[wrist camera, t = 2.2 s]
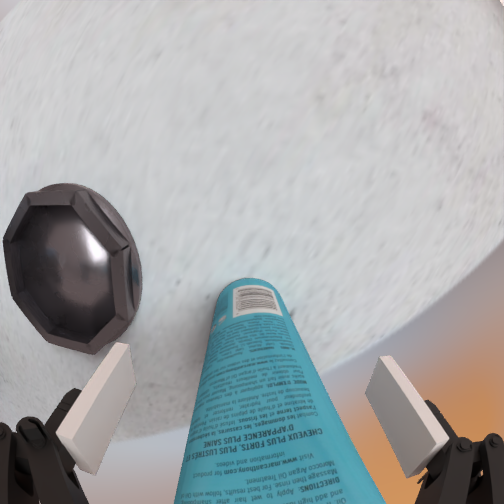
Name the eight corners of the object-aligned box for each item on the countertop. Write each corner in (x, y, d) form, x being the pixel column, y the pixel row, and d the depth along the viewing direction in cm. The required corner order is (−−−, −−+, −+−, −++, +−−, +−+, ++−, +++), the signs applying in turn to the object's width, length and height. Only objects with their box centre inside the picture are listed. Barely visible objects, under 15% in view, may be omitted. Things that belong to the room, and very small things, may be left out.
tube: (222, 349, 21) (204, 601, 2) (191, 300, 20) (101, 583, 1) (308, 311, 20) (420, 566, 2) (283, 257, 19) (432, 573, 1)
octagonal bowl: (31, 326, 20) (19, 336, 18) (13, 187, 17) (-3, 189, 15) (149, 354, 21) (141, 369, 19) (142, 181, 18) (130, 182, 15)
